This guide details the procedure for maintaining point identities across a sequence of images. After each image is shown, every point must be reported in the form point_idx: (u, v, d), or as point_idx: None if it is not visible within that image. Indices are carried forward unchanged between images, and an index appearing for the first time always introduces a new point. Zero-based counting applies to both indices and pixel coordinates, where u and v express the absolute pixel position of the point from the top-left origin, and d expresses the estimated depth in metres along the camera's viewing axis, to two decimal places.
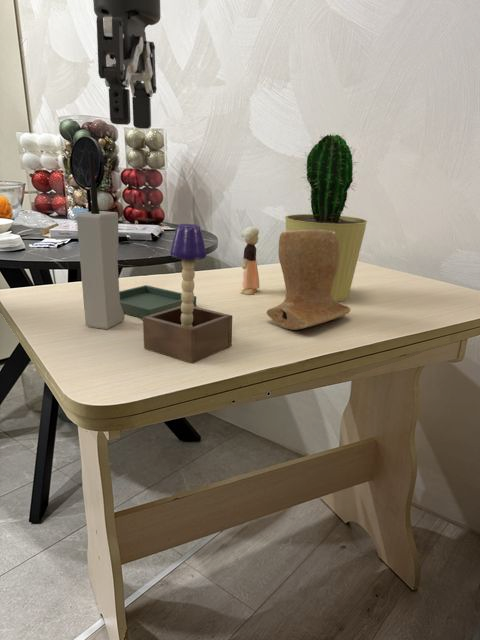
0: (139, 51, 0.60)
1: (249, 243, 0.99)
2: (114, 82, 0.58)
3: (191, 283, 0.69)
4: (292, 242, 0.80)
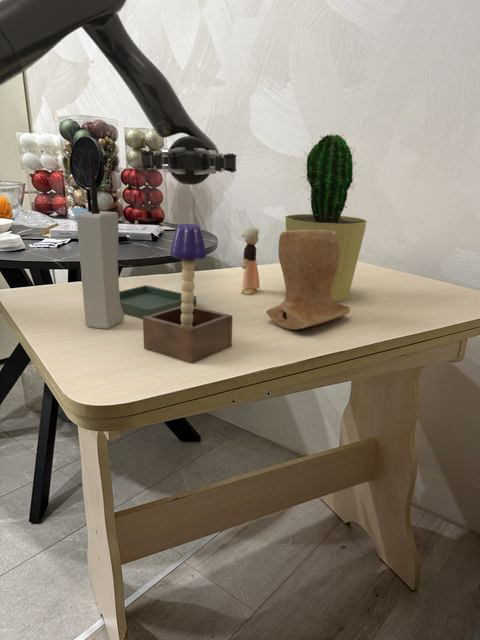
0: (201, 173, 0.82)
1: (249, 243, 0.99)
2: (228, 163, 0.79)
3: (191, 283, 0.69)
4: (292, 242, 0.80)
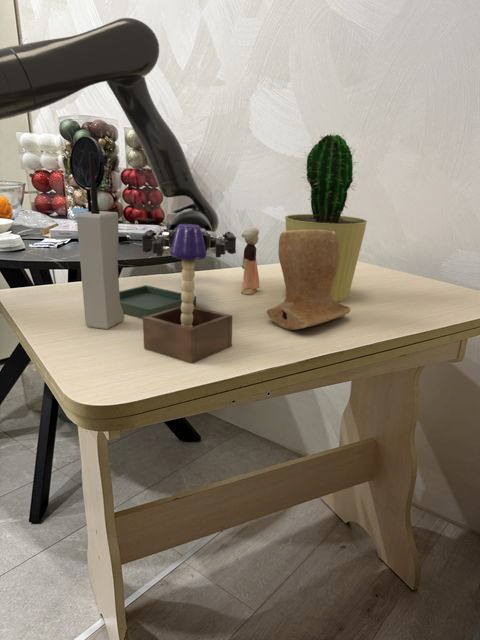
0: None
1: (249, 243, 0.99)
2: (228, 246, 0.80)
3: (191, 283, 0.69)
4: (292, 242, 0.80)
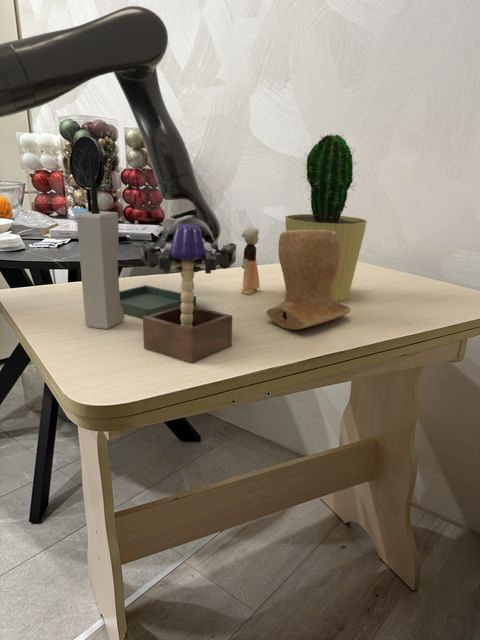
0: None
1: (249, 243, 0.99)
2: (219, 260, 0.70)
3: (191, 283, 0.69)
4: (292, 242, 0.80)
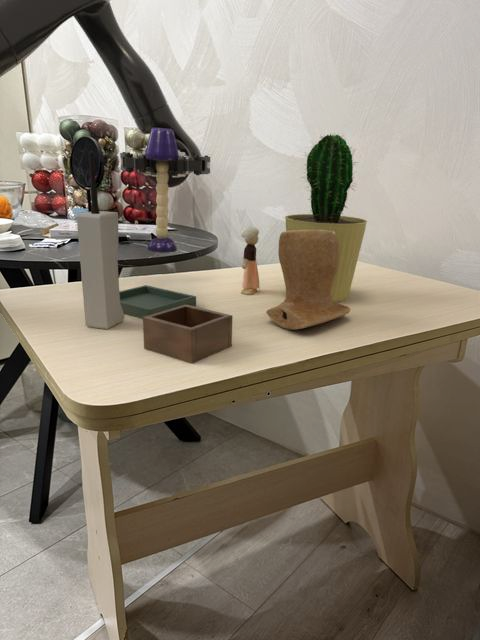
0: (177, 176, 0.79)
1: (249, 243, 0.99)
2: (193, 166, 0.74)
3: (165, 186, 0.73)
4: (292, 242, 0.80)
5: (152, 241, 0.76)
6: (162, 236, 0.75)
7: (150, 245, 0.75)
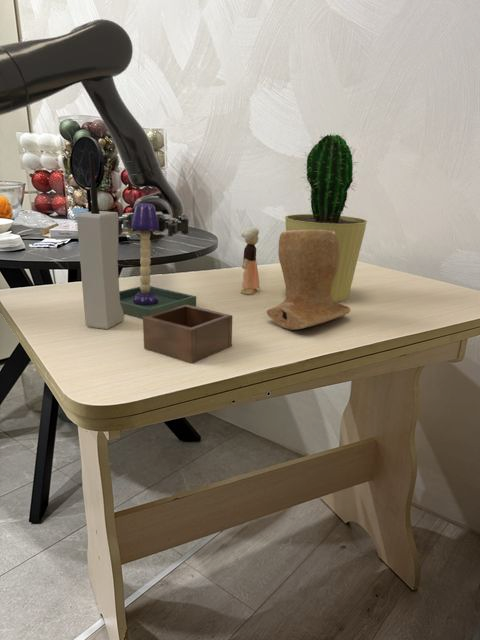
0: (158, 233, 0.92)
1: (249, 243, 0.99)
2: (181, 227, 0.89)
3: (147, 250, 0.87)
4: (292, 242, 0.80)
5: (137, 295, 0.89)
6: (145, 291, 0.89)
7: (135, 299, 0.89)
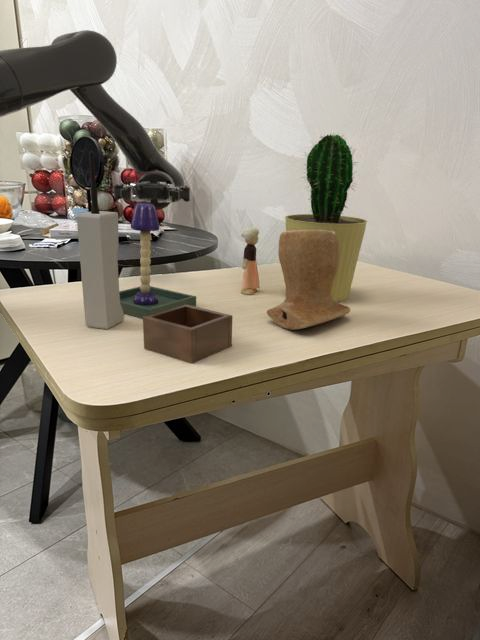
0: (162, 201, 1.03)
1: (249, 243, 0.99)
2: (183, 195, 0.99)
3: (147, 250, 0.87)
4: (292, 242, 0.80)
5: (137, 295, 0.89)
6: (145, 291, 0.89)
7: (135, 299, 0.89)
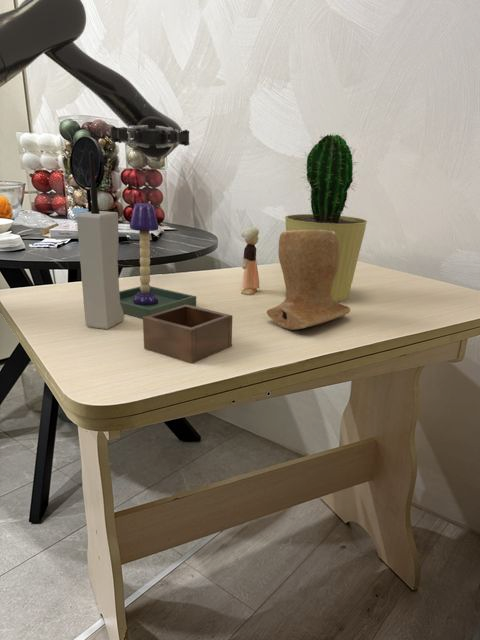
0: (161, 147, 0.99)
1: (249, 243, 0.99)
2: (182, 137, 0.96)
3: (147, 250, 0.87)
4: (292, 242, 0.80)
5: (137, 295, 0.89)
6: (145, 291, 0.89)
7: (135, 299, 0.89)
